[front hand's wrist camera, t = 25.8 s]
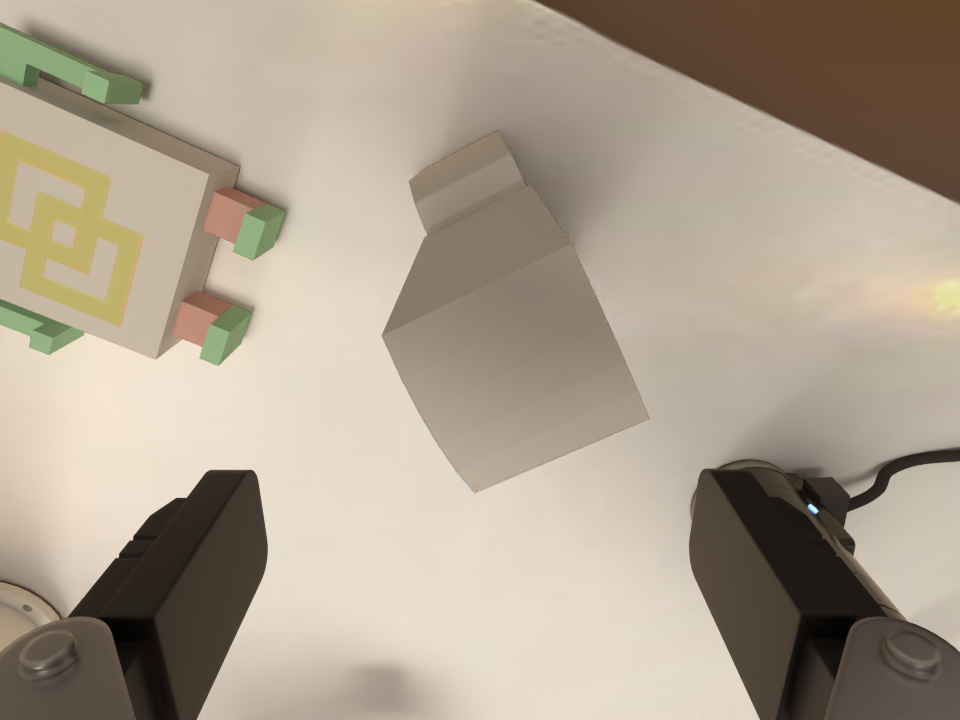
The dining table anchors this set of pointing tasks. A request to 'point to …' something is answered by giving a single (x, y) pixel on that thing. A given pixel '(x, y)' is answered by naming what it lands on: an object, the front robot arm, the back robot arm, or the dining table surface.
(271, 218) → the decorative block
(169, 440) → the dining table surface
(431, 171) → the electronic device
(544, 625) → the dining table surface
